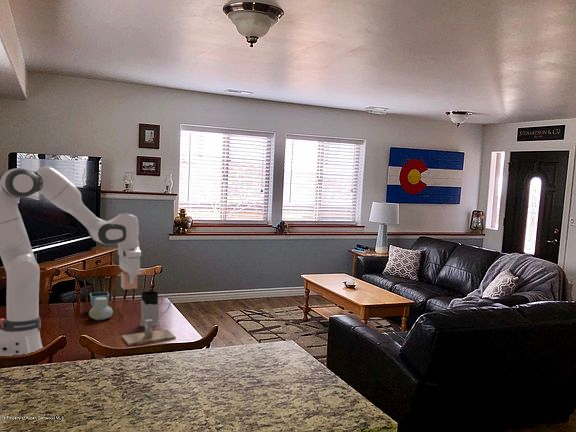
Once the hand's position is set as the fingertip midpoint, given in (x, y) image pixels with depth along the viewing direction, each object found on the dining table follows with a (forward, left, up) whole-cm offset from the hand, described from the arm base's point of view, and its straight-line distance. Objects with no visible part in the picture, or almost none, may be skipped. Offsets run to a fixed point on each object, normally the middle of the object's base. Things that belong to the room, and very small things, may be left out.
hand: (129, 281), depth 221 cm
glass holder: (+15, +12, -24) cm, 31 cm away
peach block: (0, 0, -3) cm, 2 cm away
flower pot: (-4, +46, -24) cm, 52 cm away
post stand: (+6, -8, -24) cm, 26 cm away
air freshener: (-6, +32, -24) cm, 41 cm away
